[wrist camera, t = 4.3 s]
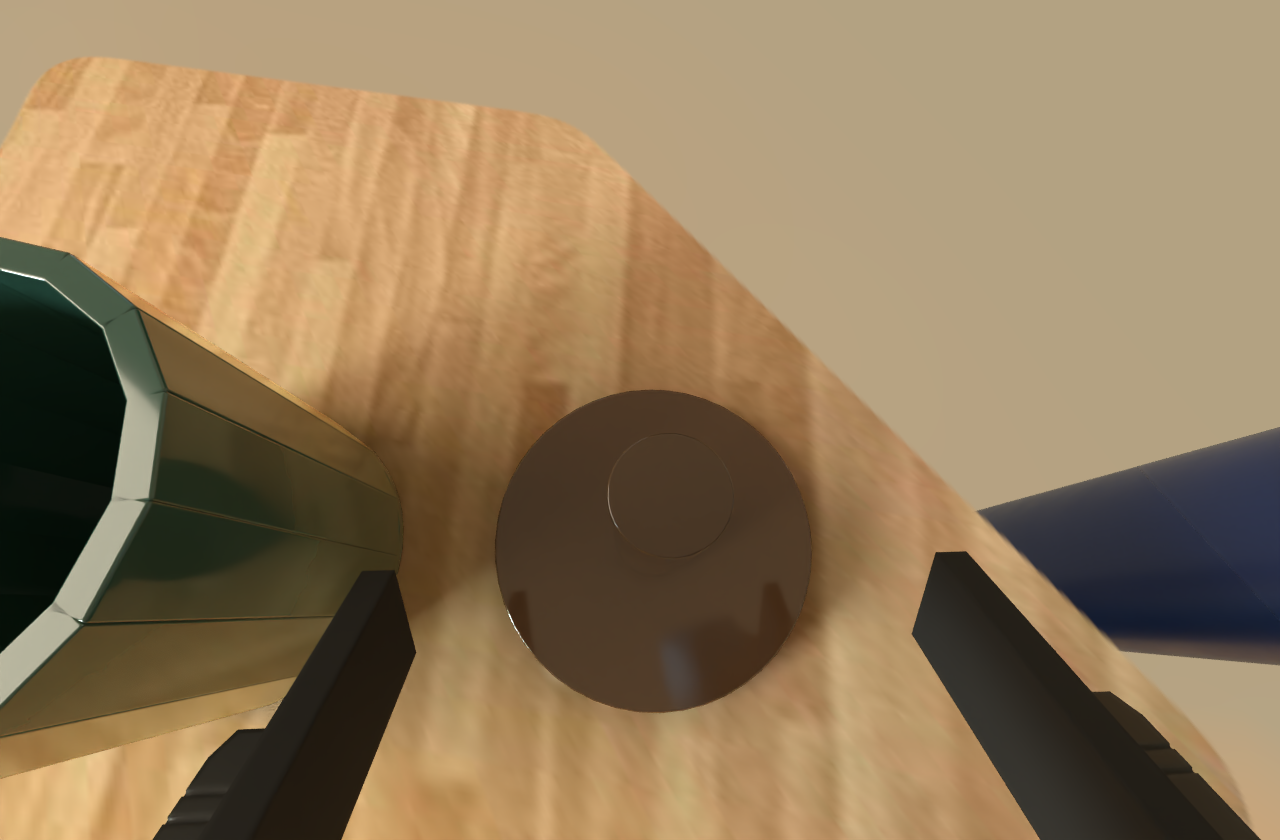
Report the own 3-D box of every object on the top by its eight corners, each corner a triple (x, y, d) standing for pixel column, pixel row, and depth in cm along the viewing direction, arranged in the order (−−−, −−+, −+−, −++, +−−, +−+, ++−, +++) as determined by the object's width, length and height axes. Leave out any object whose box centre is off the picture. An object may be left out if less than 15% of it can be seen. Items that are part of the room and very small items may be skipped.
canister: (450, 600, 22) (239, 591, 10) (155, 777, 19) (-573, 1041, 8) (341, 372, 25) (82, 159, 13) (76, 504, 23) (-528, 390, 11)
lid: (864, 591, 22) (1032, 580, 13) (598, 780, 20) (573, 930, 11) (695, 352, 26) (733, 210, 16) (450, 489, 23) (334, 412, 14)
